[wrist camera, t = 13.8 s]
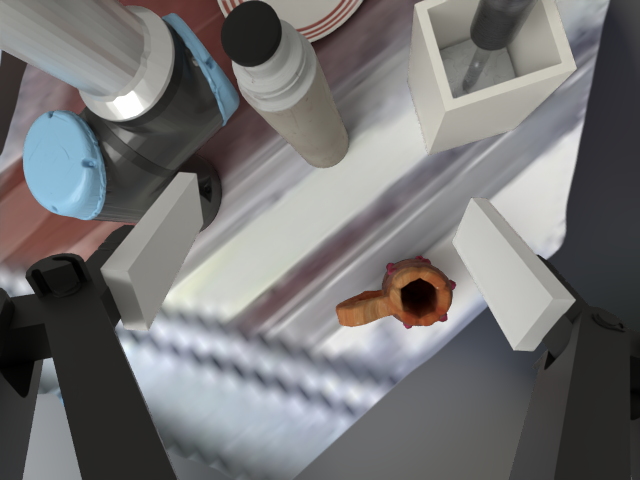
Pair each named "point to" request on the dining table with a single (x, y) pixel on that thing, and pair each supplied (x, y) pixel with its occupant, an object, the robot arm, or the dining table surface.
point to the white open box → (493, 102)
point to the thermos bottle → (284, 82)
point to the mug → (402, 296)
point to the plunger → (486, 47)
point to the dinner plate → (306, 14)
